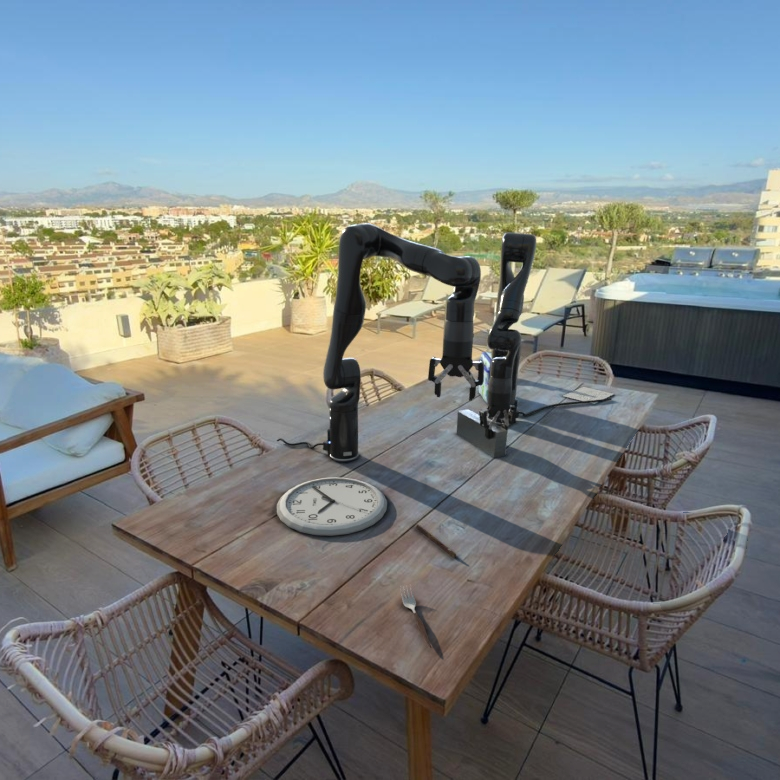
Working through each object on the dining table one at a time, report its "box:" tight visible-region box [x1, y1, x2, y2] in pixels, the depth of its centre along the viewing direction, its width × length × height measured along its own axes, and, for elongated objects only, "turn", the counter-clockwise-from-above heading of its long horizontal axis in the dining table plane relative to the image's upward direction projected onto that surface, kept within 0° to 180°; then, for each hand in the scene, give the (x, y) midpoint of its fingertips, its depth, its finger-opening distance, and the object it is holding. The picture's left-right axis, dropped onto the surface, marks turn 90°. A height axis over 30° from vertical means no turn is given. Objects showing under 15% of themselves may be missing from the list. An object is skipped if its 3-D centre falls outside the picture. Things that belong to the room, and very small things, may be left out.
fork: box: [399, 584, 432, 649], centre depth 101 cm, size 3×16×2 cm, turn 16°
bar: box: [456, 408, 508, 459], centre depth 184 cm, size 23×5×9 cm, turn 26°
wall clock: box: [276, 476, 388, 537], centre depth 142 cm, size 30×2×30 cm
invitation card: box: [562, 386, 615, 405], centre depth 241 cm, size 21×1×15 cm
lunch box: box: [476, 351, 492, 405], centre depth 230 cm, size 26×11×21 cm, turn 179°
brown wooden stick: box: [415, 524, 457, 559], centre depth 127 cm, size 15×1×1 cm, turn 34°
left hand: (454, 398), depth 138 cm, fingers open, 8 cm apart
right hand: (495, 436), depth 176 cm, fingers open, 5 cm apart
